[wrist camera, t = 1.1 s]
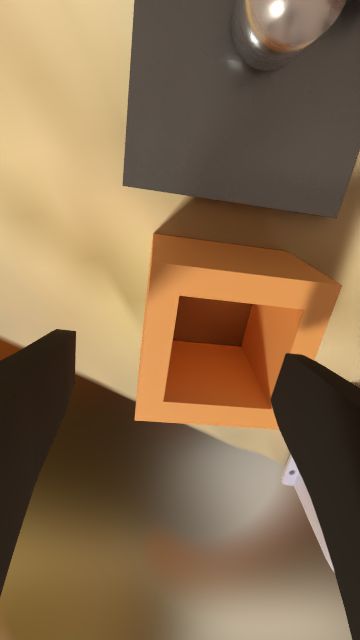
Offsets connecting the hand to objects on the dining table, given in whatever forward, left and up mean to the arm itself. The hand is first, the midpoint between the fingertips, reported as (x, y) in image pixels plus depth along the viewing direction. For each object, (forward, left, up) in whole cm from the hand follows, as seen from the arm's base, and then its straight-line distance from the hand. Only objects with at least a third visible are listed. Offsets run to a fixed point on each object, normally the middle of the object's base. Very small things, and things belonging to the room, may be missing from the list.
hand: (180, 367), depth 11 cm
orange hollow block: (-1, -3, -8) cm, 9 cm away
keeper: (+12, -3, -8) cm, 15 cm away
